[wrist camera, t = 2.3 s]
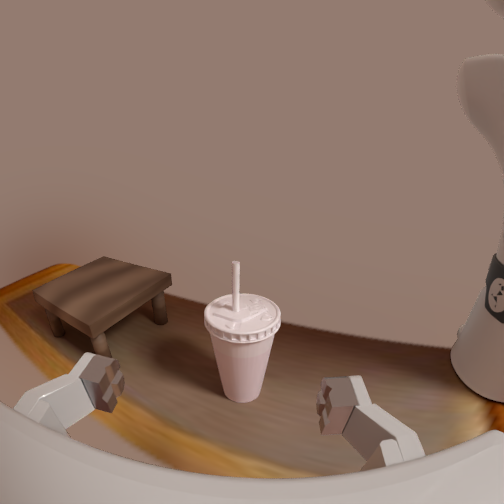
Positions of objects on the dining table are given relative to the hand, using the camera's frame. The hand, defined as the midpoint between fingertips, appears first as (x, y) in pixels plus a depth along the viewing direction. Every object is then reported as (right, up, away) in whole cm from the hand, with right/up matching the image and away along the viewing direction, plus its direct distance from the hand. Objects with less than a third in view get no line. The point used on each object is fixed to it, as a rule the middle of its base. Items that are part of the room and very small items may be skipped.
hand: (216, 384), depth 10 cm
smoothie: (0, -9, +16) cm, 19 cm away
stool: (-18, -5, +24) cm, 31 cm away
